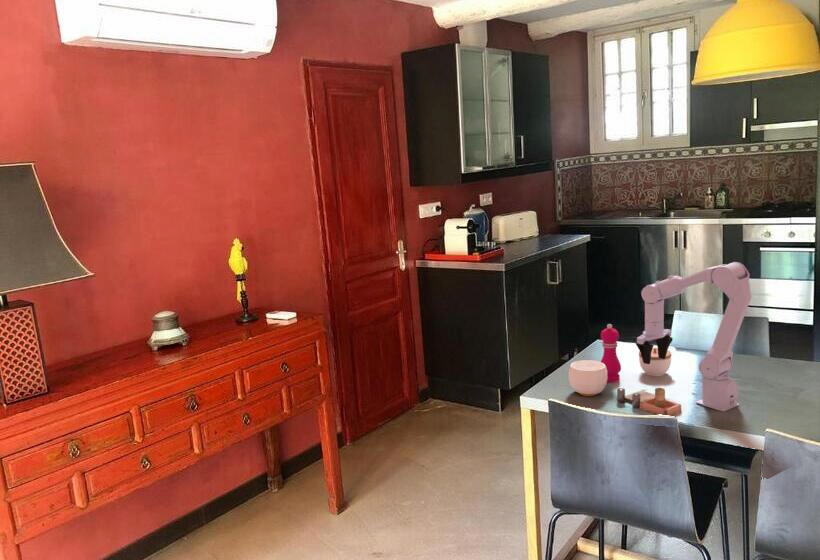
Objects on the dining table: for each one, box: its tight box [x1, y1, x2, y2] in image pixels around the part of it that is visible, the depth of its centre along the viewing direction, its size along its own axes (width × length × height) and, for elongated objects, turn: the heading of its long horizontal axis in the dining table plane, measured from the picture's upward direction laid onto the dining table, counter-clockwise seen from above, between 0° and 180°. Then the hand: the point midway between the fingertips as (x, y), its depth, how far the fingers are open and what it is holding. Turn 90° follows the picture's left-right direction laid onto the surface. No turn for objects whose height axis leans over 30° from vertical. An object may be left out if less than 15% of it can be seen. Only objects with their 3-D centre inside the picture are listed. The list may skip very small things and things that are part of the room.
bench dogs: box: [616, 387, 641, 409], centre depth 211 cm, size 8×2×4 cm, turn 32°
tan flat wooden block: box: [625, 389, 655, 404], centre depth 215 cm, size 7×9×2 cm
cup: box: [568, 359, 608, 397], centre depth 222 cm, size 12×12×10 cm
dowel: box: [654, 387, 666, 409], centre depth 205 cm, size 3×3×6 cm
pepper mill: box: [600, 323, 622, 384], centre depth 232 cm, size 7×7×20 cm
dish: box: [639, 397, 682, 416], centre depth 205 cm, size 9×7×2 cm
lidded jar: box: [638, 347, 672, 377], centre depth 237 cm, size 11×11×9 cm
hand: (654, 360), depth 221 cm, fingers open, 7 cm apart
